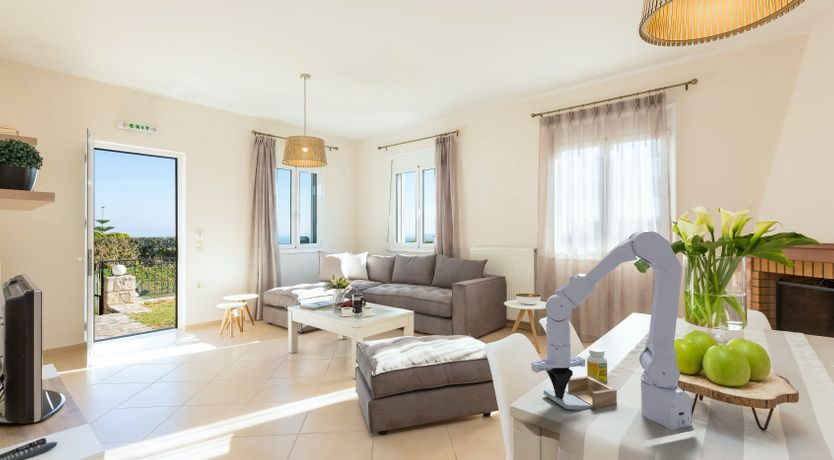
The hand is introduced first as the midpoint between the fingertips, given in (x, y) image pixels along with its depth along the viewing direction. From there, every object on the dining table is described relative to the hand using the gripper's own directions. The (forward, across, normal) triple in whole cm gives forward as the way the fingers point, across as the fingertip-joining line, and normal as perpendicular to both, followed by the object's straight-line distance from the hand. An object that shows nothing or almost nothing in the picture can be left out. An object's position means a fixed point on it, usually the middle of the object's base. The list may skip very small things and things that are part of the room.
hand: (559, 397), depth 97 cm
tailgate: (+1, -6, 0) cm, 6 cm away
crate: (+2, -10, 0) cm, 10 cm away
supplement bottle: (+3, -20, -10) cm, 23 cm away
